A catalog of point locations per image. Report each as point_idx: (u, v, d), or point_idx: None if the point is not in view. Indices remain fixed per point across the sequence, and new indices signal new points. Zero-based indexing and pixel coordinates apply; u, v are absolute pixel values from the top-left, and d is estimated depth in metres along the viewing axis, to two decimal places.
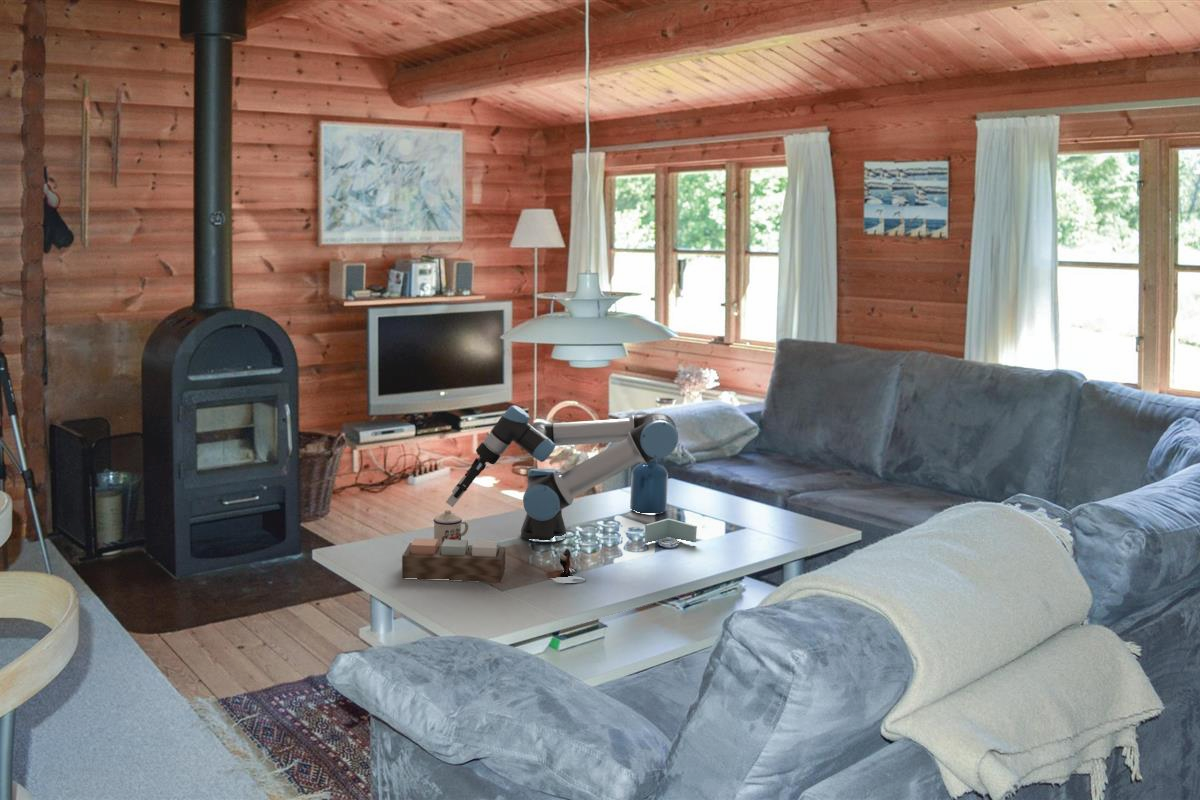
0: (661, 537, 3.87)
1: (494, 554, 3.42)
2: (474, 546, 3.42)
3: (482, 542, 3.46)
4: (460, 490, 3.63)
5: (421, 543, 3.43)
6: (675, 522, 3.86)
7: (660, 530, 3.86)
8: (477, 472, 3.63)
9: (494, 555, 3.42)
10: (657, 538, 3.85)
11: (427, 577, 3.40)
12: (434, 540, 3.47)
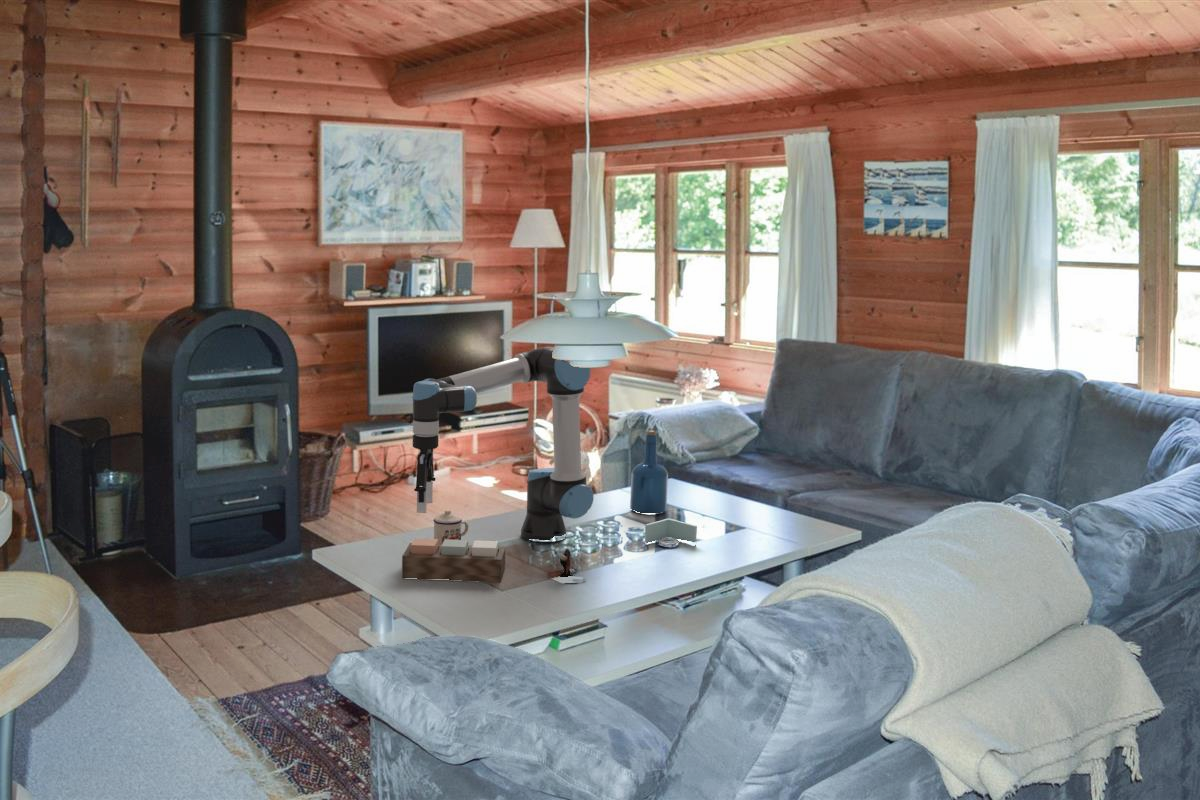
0: (661, 537, 3.87)
1: (494, 554, 3.42)
2: (474, 546, 3.42)
3: (482, 542, 3.46)
4: (420, 493, 3.35)
5: (421, 543, 3.43)
6: (675, 522, 3.87)
7: (660, 530, 3.86)
8: (423, 466, 3.34)
9: (494, 555, 3.42)
10: (657, 538, 3.86)
11: (427, 577, 3.40)
12: (434, 540, 3.47)
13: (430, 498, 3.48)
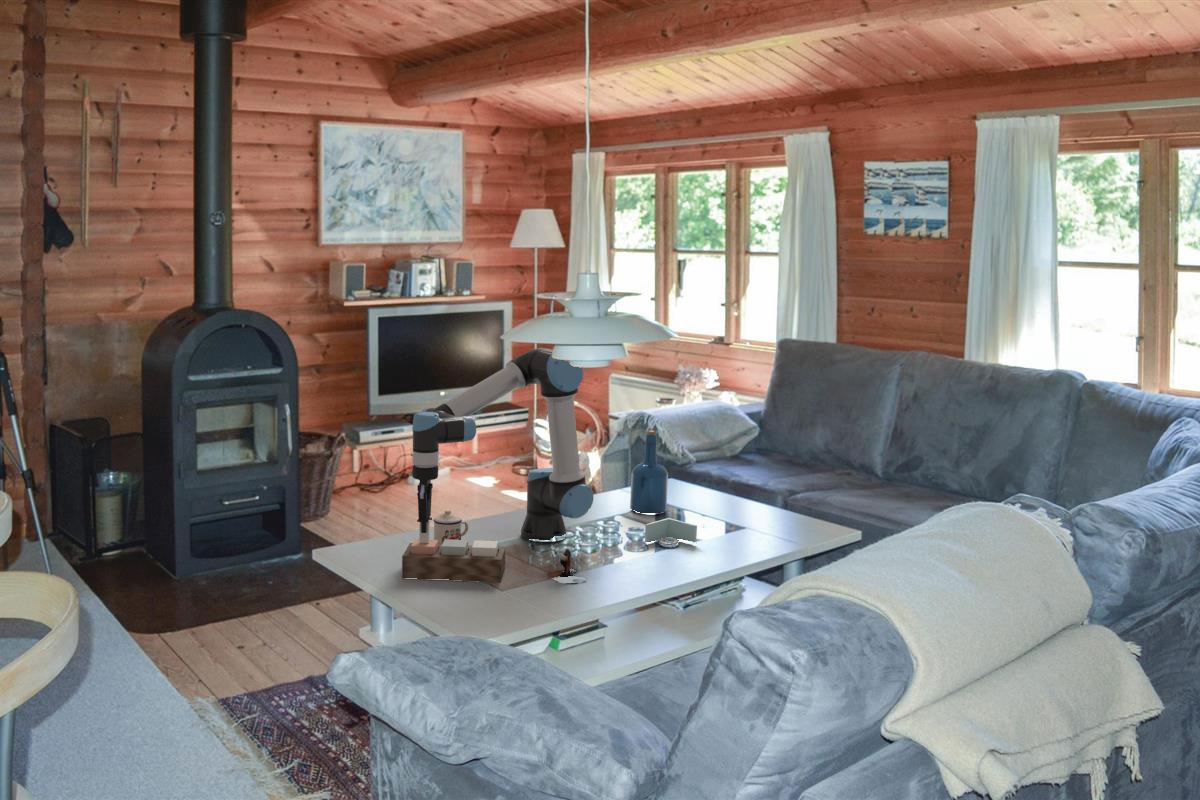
0: (661, 536, 3.87)
1: (494, 554, 3.42)
2: (474, 546, 3.42)
3: (482, 542, 3.46)
4: (423, 523, 3.42)
5: (421, 544, 3.43)
6: (675, 521, 3.87)
7: (660, 529, 3.86)
8: (424, 501, 3.38)
9: (494, 555, 3.42)
10: (657, 537, 3.86)
11: (427, 577, 3.40)
12: (434, 541, 3.47)
13: None
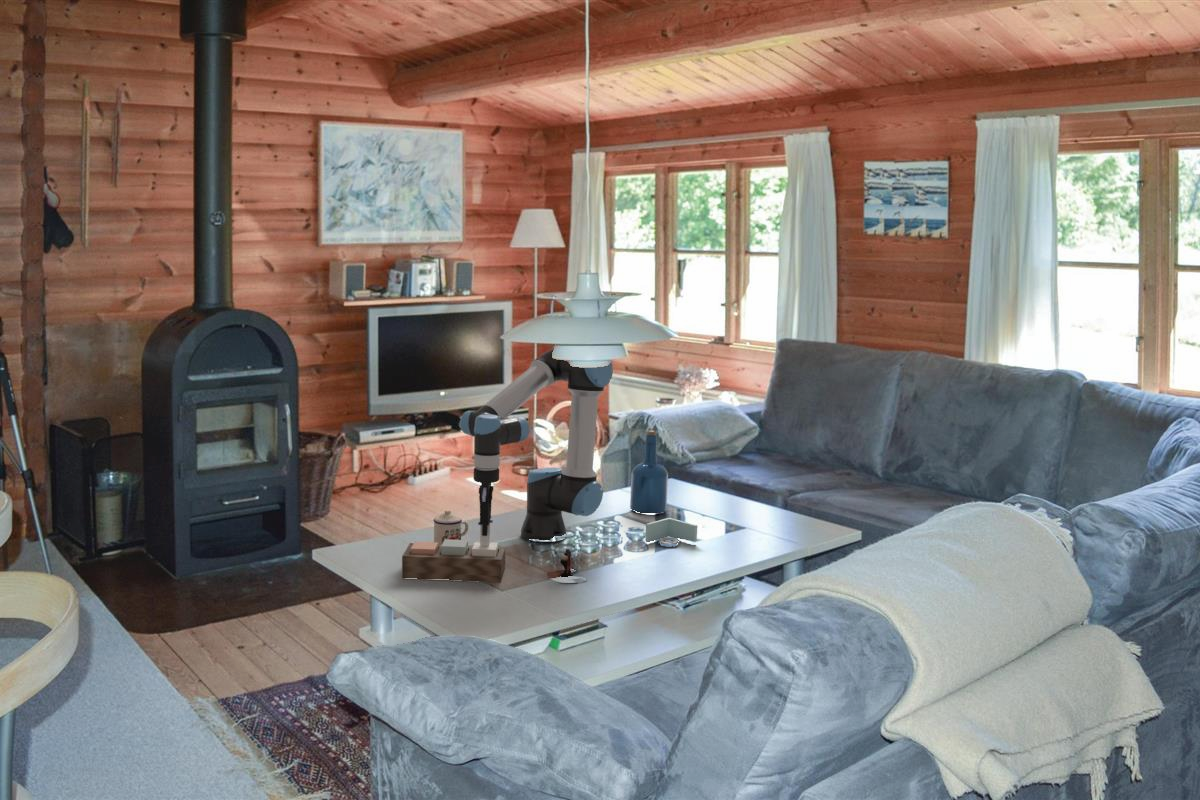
0: (662, 536, 3.88)
1: (494, 556, 3.42)
2: (474, 548, 3.42)
3: None
4: (484, 526, 3.42)
5: (421, 547, 3.44)
6: (676, 521, 3.87)
7: (661, 529, 3.87)
8: (486, 504, 3.37)
9: None
10: (658, 537, 3.86)
11: (427, 577, 3.40)
12: (434, 543, 3.47)
13: None
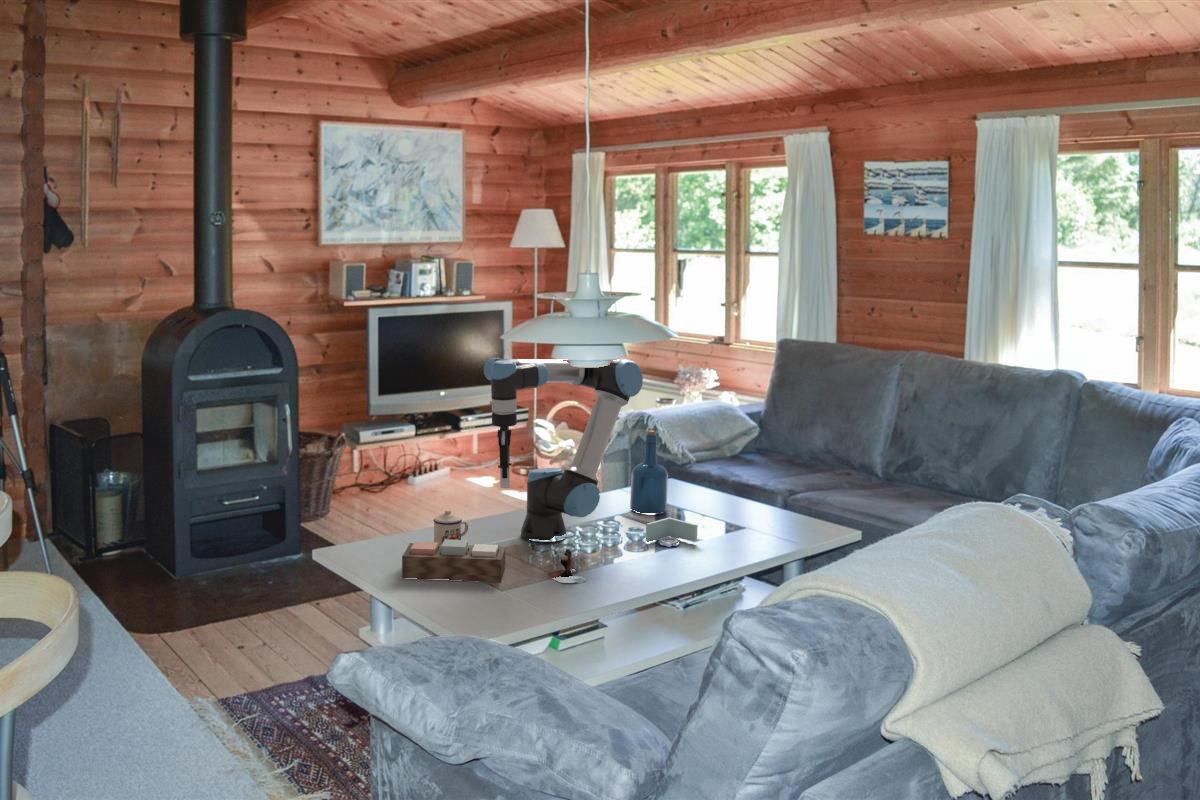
0: (662, 536, 3.88)
1: None
2: (474, 550, 3.43)
3: (482, 546, 3.47)
4: (504, 469, 3.51)
5: (421, 547, 3.44)
6: (676, 521, 3.88)
7: (661, 529, 3.87)
8: (505, 447, 3.47)
9: None
10: (658, 537, 3.87)
11: (427, 577, 3.40)
12: (434, 543, 3.47)
13: None
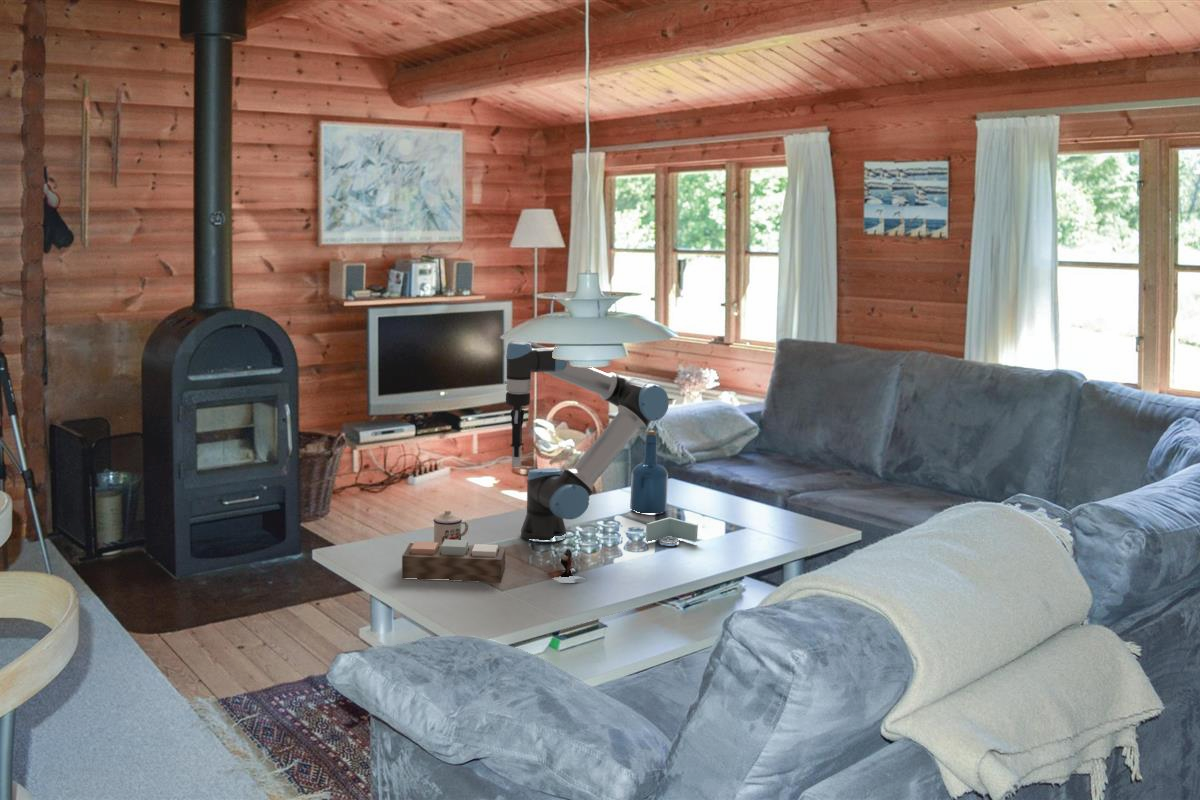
0: (662, 536, 3.88)
1: None
2: (474, 550, 3.43)
3: (482, 546, 3.47)
4: (516, 448, 3.60)
5: (421, 547, 3.44)
6: (676, 521, 3.88)
7: (661, 529, 3.88)
8: (518, 425, 3.56)
9: None
10: (658, 537, 3.87)
11: (427, 577, 3.40)
12: (434, 543, 3.47)
13: None
